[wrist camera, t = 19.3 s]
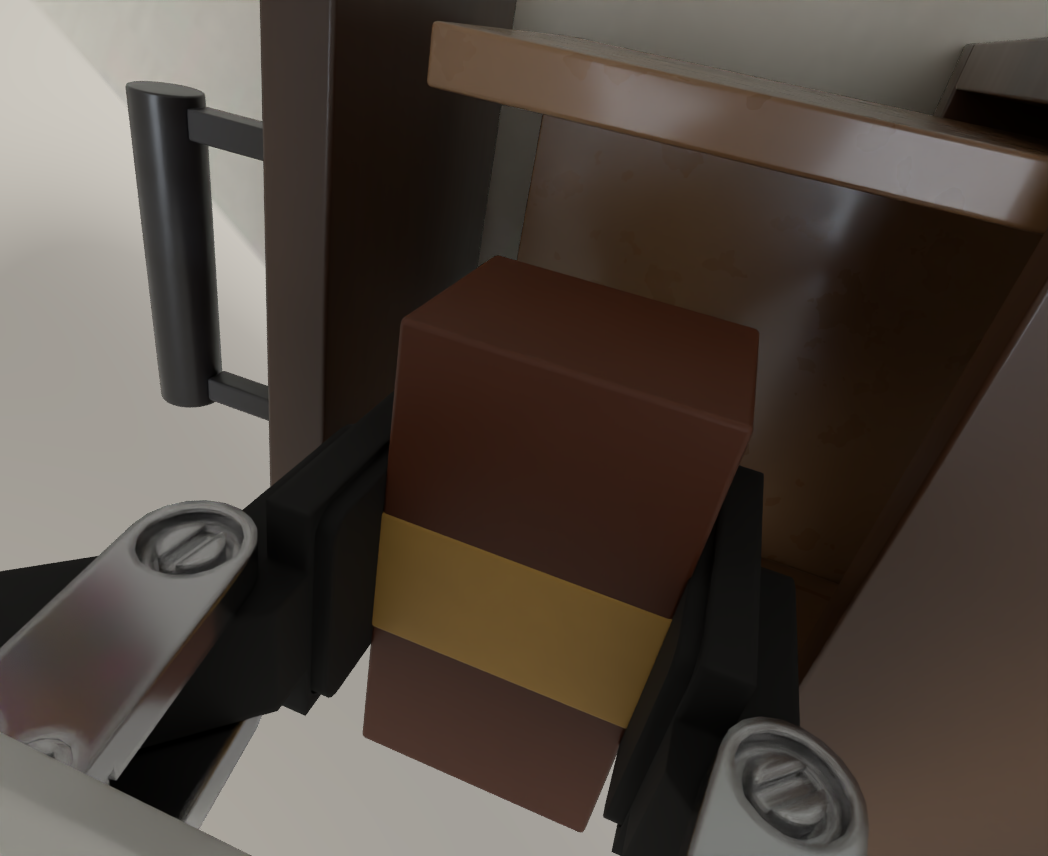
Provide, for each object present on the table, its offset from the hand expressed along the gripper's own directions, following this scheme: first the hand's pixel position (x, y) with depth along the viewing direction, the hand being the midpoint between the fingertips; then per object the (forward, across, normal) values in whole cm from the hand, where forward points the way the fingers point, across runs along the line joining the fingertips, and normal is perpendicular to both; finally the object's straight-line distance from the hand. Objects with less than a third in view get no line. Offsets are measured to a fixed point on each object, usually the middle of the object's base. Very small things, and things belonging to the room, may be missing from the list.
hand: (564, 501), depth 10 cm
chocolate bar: (0, 0, 0) cm, 0 cm away
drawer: (+8, +2, 0) cm, 8 cm away
